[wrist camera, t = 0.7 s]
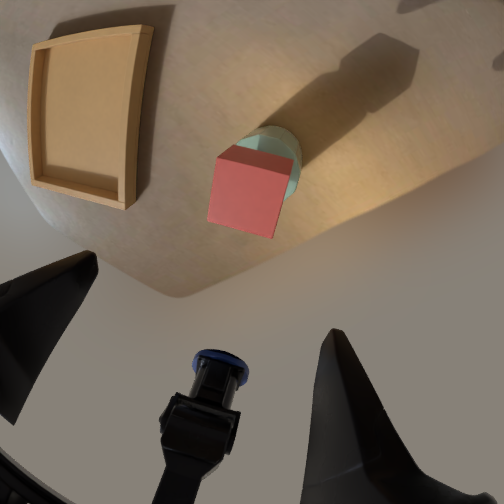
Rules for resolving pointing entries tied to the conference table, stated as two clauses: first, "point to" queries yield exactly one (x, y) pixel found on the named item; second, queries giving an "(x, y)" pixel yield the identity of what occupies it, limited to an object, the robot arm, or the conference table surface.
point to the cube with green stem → (249, 190)
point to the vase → (277, 149)
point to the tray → (88, 113)
